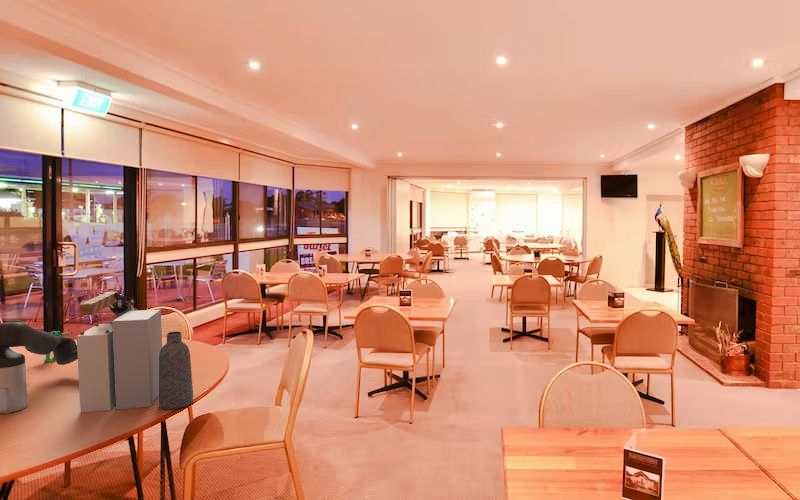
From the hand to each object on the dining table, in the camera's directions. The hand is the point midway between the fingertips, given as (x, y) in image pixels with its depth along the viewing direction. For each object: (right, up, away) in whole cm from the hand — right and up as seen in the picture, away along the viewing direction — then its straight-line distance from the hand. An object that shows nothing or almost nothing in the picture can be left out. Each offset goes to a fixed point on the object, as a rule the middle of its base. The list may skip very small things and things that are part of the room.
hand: (109, 294), depth 193 cm
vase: (+32, -42, -9) cm, 54 cm away
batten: (+2, -4, -9) cm, 10 cm away
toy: (-58, -38, +48) cm, 84 cm away
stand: (+9, -42, -5) cm, 43 cm away
